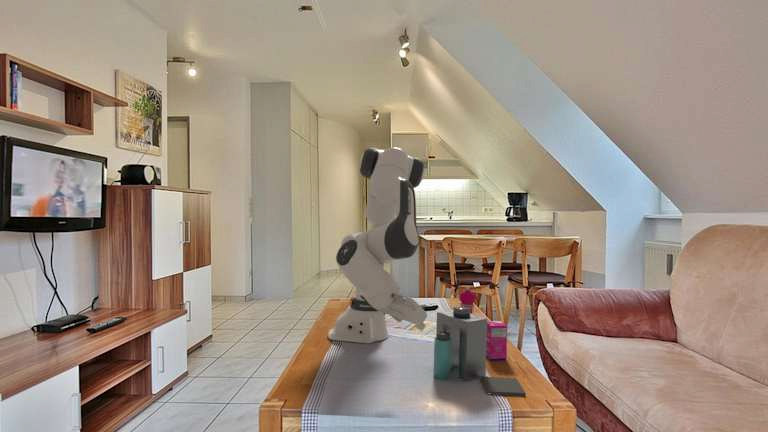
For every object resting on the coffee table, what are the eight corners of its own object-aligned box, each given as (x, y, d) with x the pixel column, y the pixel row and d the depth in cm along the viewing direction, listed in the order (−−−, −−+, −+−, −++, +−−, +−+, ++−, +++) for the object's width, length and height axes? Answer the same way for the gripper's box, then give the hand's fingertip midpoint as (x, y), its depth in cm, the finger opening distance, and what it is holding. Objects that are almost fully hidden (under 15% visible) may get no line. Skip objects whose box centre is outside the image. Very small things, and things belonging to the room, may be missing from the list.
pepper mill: (474, 337, 166) (476, 284, 166) (477, 343, 159) (478, 288, 158) (455, 336, 167) (457, 284, 166) (456, 342, 160) (458, 287, 159)
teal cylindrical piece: (433, 379, 125) (435, 335, 125) (432, 372, 130) (434, 330, 130) (451, 380, 125) (453, 336, 125) (449, 373, 130) (451, 331, 130)
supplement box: (483, 354, 147) (484, 320, 147) (500, 354, 148) (501, 320, 148) (489, 360, 142) (490, 325, 141) (507, 360, 142) (508, 325, 142)
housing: (465, 381, 124) (467, 315, 123) (435, 367, 135) (437, 305, 134) (485, 376, 129) (487, 311, 128) (454, 362, 139) (456, 302, 139)
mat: (487, 394, 116) (487, 391, 116) (480, 379, 126) (480, 376, 126) (525, 395, 116) (525, 392, 116) (516, 380, 126) (516, 378, 126)
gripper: (414, 288, 107) (443, 323, 113) (368, 277, 124) (396, 307, 130) (399, 309, 105) (429, 343, 110) (354, 294, 121) (383, 324, 127)
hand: (411, 323), depth 120 cm, fingers open, 8 cm apart
